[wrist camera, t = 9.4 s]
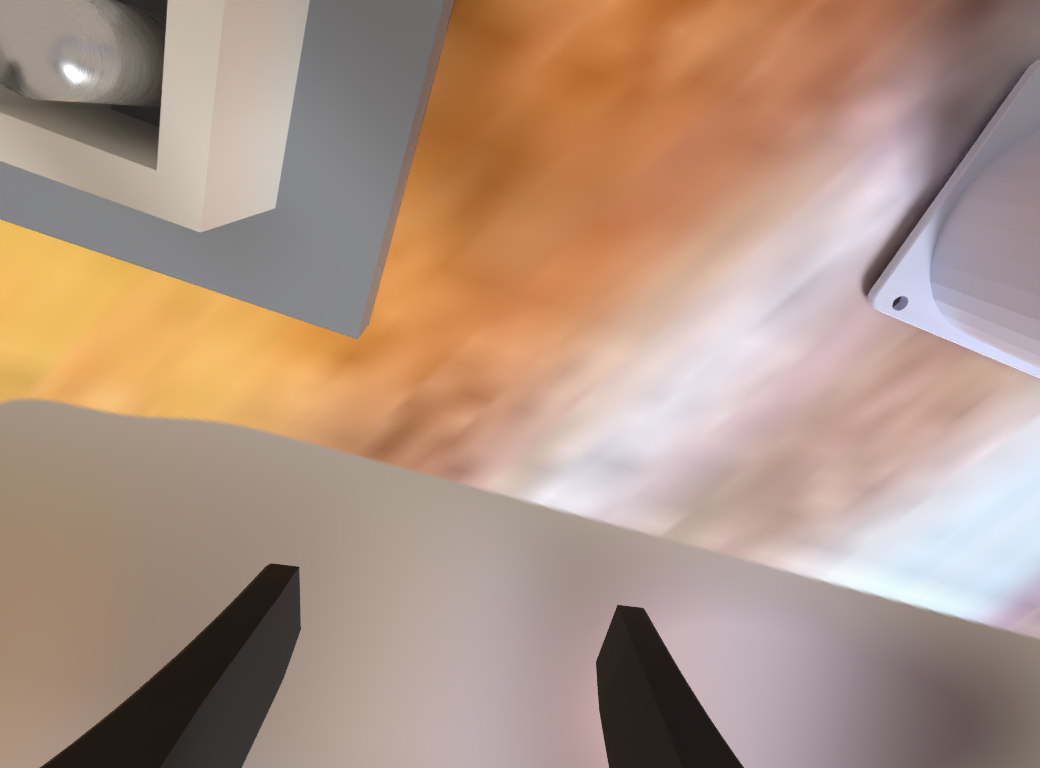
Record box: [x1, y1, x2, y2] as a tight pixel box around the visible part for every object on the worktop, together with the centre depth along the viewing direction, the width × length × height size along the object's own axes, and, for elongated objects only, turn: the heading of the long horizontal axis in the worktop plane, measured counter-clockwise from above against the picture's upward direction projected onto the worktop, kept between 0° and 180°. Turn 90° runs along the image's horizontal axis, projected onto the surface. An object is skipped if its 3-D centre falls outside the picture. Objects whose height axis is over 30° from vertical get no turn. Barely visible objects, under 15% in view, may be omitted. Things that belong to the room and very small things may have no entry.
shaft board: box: [0, 0, 454, 339], centre depth 12 cm, size 14×12×6 cm
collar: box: [0, 0, 310, 233], centre depth 12 cm, size 6×6×4 cm
